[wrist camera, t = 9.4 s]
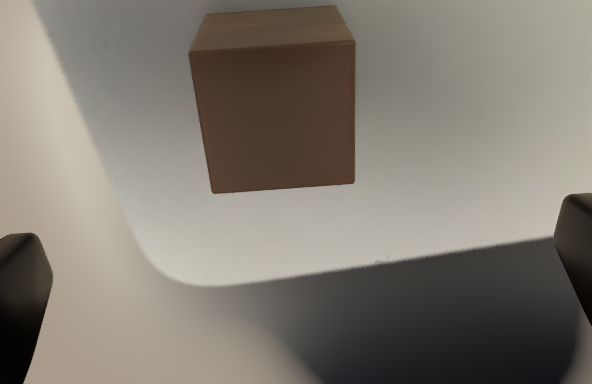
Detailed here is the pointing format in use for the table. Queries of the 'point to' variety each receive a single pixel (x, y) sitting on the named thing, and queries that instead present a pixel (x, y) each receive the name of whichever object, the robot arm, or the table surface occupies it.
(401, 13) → the table surface
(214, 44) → the block
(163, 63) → the table surface
